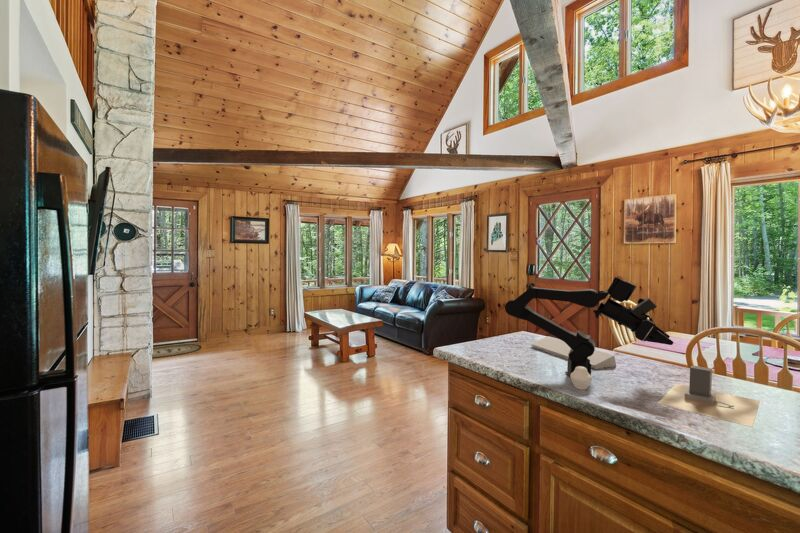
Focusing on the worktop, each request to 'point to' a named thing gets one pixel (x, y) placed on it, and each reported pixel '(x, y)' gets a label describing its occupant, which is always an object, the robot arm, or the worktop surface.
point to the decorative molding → (562, 349)
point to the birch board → (715, 406)
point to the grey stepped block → (700, 386)
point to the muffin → (581, 378)
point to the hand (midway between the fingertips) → (670, 340)
